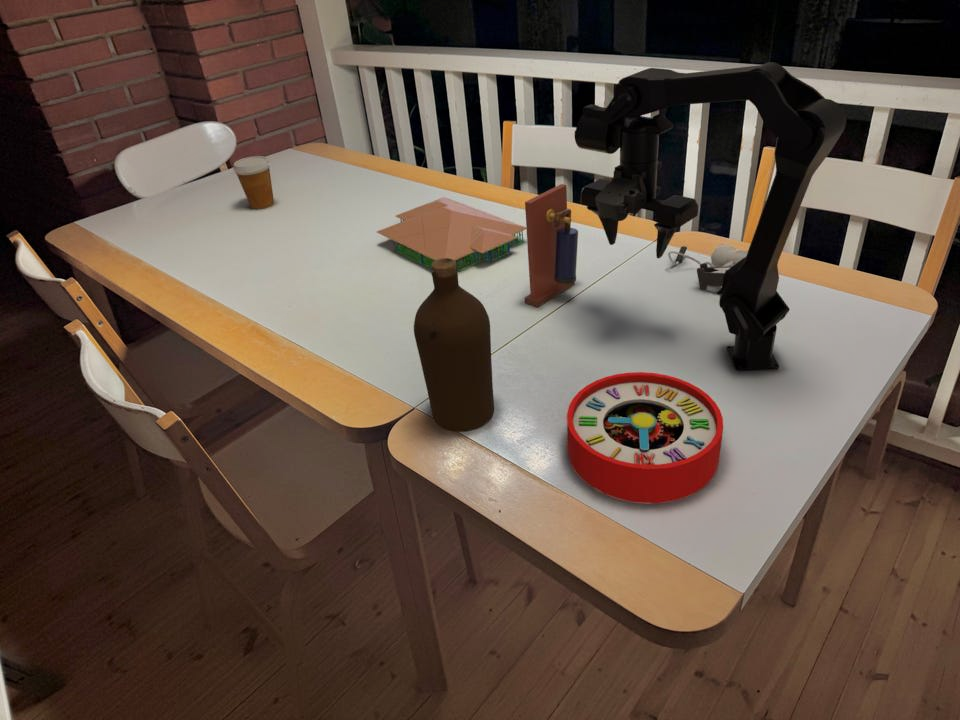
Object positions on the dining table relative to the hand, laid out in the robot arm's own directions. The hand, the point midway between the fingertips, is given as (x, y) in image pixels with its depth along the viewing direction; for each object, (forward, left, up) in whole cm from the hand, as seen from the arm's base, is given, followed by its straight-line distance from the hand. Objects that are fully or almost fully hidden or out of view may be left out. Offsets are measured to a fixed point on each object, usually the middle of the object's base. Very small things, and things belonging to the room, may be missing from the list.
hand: (635, 250), depth 115 cm
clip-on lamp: (+14, -16, -13) cm, 25 cm away
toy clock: (-35, +4, -13) cm, 37 cm away
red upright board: (+9, +13, -13) cm, 21 cm away
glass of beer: (+70, +90, -13) cm, 115 cm away
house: (+37, +36, -13) cm, 53 cm away
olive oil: (-25, +29, -13) cm, 40 cm away
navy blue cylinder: (+8, +11, -9) cm, 17 cm away
